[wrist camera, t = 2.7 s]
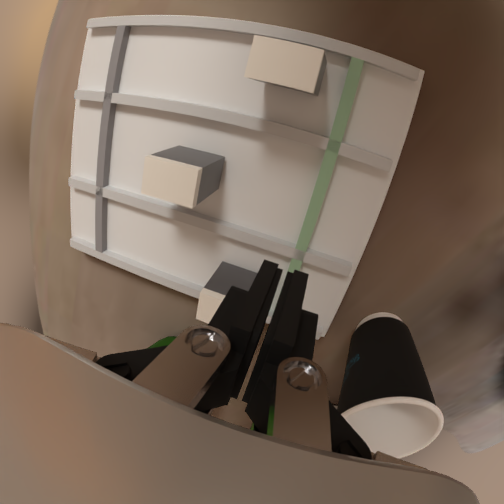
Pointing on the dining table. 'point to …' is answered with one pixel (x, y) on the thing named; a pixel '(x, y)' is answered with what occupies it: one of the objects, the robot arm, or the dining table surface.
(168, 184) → the block
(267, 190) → the board
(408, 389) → the dixie cup
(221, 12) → the dining table surface
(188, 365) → the robot arm
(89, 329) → the dining table surface
